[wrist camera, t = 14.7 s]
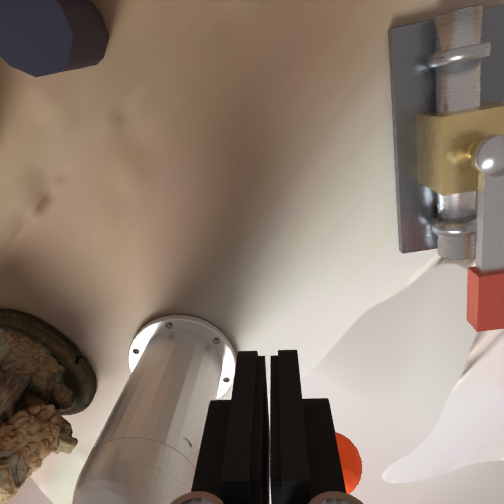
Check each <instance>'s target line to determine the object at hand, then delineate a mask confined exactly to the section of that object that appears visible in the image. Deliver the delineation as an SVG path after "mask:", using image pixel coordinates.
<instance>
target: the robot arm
mask: <svg viewBox="0 0 504 504" xmlns="http://www.w3.org/2000/svg"><path fill="white" fill-rule="evenodd" d="M128 360H129V367H130V370H131V375H130V377H129V379H128V381H127V383H126V385H125V387H124V389H123V391H122V393H121V395H120V396H119V398H118V400H117V402H116V404H115V406H114V408H113V410H112V412H111V414H110V416H109V418H108V420H107V422H106V424H105V426H104V427H103V429H102V431H101V433H100V435H99V437H98V439H97V441H96V443H95V445H94V447H93V449H92V451H91V453H90V455H89V457H88V458H87V461H86V463H85V464H84V466H83V469H82V471H81V473H80V475H79V477H78V480H77V483H76V486H75V490H74V495H73V503H72V504H269V481H270V485H271V502H272V504H363V503H362V502H361V501H360V500H358V499H357V498H355V497H353V496H352V495H350V494H347V493H346V487H345V482H344V477H343V472H342V466H341V461H340V456H339V451H338V445H337V440H336V435H335V430H334V424H333V419H332V414H331V409H330V404H329V400H328V399H327V398H323V399H322V398H321V399H302V394H301V383H300V373H299V363H298V354H297V350H278V356H271V389H270V430H269V414H268V398H267V382H266V366H265V356H258V353H257V351H238V354H237V362H236V357H235V352H234V349H233V347H232V345H231V343H230V341H229V340H228V339H227V337H226V336H225V335H224V334H223V333H222V332H221V331H220V330H219V329H218V328H216V327H215V326H213V325H212V324H210V323H209V322H207V321H204V320H202V319H199V318H196V317H192V316H188V315H169V316H164V317H161V318H157V319H155V320H153V321H151V322H149V323H148V324H146V325H145V326H144V327H143V328H142V329H141V330H140V331H139V332H138V333H137V335H136V336H135V338H134V340H133V342H132V344H131V346H130V349H129V358H128ZM233 379H234V384H233V391H232V398H231V400H217V399H218V398H220V397H221V396H222V395H223V394H224V393H225V392H226V391H227V390H228V389H229V387H230V386H231V384H232V382H233Z"/></svg>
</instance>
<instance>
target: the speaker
mask: <svg viewBox="0 0 504 504" xmlns="http://www.w3.org/2000/svg"><path fill="white" fill-rule="evenodd" d="M108 38H109V36H108V33H107V30H106V27H105V24H104V21H103V18H102V15H101V13H100V12H99V10H98V9H97V8H96V7H95V6H94V4H93V3H91V2H89V1H87V0H0V56H1V57H2V58H3V59H4V60H5V61H6V62H7V63H8V64H9V65H10V66H12V67H14V68H17V69H19V70H21V71H23V72H26V73H28V74H30V75H32V76H35V77H39V76H44V75H49V74H54V73H58V72H63V71H68V70H73V69H78V68H83V67H87V66H92V65H97V64H98V63H99V62H100V61H101V60H102V59H103V58H104V54H105V50H106V46H107V42H108Z"/></svg>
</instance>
